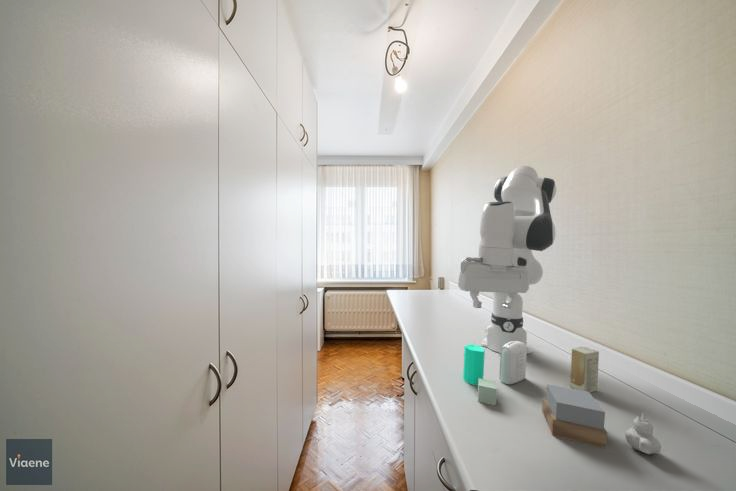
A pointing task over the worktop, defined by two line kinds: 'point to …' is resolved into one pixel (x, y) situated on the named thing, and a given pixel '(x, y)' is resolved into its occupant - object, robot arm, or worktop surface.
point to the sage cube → (487, 391)
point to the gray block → (575, 406)
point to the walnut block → (573, 429)
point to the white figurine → (642, 436)
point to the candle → (473, 363)
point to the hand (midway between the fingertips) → (492, 307)
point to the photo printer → (513, 362)
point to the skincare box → (584, 369)
